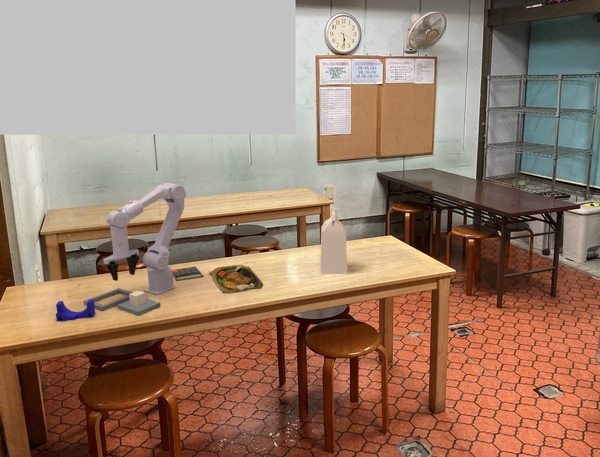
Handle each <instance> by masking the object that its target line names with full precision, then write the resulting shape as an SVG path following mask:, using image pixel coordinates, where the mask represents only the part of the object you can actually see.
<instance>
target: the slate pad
mask: <svg viewBox="0 0 600 457" xmlns="http://www.w3.org/2000/svg"><path fill="white" fill-rule="evenodd" d="M145 298H146V297H145ZM116 307H117V309H118V310H121V311H124V312H126V313H129V314H132V315H136V316H138V317H139V316H142V315H144V314H146V313H148V312H151V311H154V310H155V309H158V308H160V307H161V302H159V301H156V300H152V299H149V298H146V303H144V304H142V305H140V306H134V305H131V304H130V300H128V301H126V302H123V303H121V304H118V305H117V306H116Z"/></svg>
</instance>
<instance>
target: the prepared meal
mask: <svg viewBox="0 0 600 457" xmlns="http://www.w3.org/2000/svg"><path fill="white" fill-rule="evenodd" d="M208 273H209V274H208V275H209V276H212V279H213V281H214V283H215V285H217V287H218V288H219V289H220V291H221V292H222V293H227V294H231V293H239V292H242V291H247V290H249V289H252V288H253V289H254V288H255V289H262V288H263V286H264V283H263V281H262V280H261V279H260V278H259V276H258V275H257V274H256V273H255V272H254V271H253V270H252V268H251V267H250V266H246V265H244V264H236V265H235V264H234V265H227V266H219V267H215V268H214V269H212V270H211V272H210V270H208ZM251 284H252V285H251ZM238 285H239V286H240V285H241V286H242V285H244V286H242V289H241V288H239V287H237V286H238ZM245 285H247V286H245ZM244 287H245V288H244Z"/></svg>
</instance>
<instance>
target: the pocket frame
mask: <svg viewBox="0 0 600 457" xmlns="http://www.w3.org/2000/svg"><path fill="white" fill-rule="evenodd" d="M133 292H134V291H131V290H127V289H123V288H120V287H117V288H115V289H113V290H109V291H108V292H104V293H101V294H99V295H96V296H94V297H90V298H88V299H85V300H83V305H84V306H86V307H87V302H88V301H89V299H94V306H95V310H97V311H101V312H104V311H106V310H109V309H112V308H114V307H117V305H118V304H121V303H123V302H126V301H128V300H130V298H129V294H131V293H133ZM118 294H120V295H123V296H124V297H121V298H119V299H115V300H112V301H110V302H107V303H105V304H101V303H98V302H100V301H102V300H105V299H107V298H110V297H112V296H113V297H114V296H116V295H118Z"/></svg>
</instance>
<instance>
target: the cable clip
mask: <svg viewBox="0 0 600 457" xmlns="http://www.w3.org/2000/svg"><path fill="white" fill-rule="evenodd" d="M88 299H89V301H88V302H87V306H86V308H84V309H83V310H81V311H73V310H71V309H69V308H68V307H67V306H66V305H65V304H64V300H59V301H57V303H56V304H55V308H56V313H55V318H56V322H57V321H60V322H69V321H68V320H74V321H76V319H78V320H79V319H93V318H95V316H96V309H95V306H94V299H90V298H88Z"/></svg>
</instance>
